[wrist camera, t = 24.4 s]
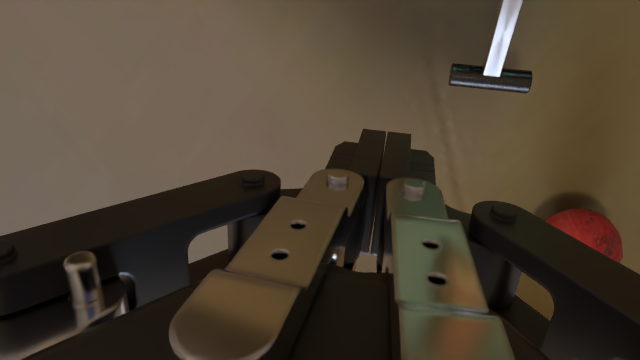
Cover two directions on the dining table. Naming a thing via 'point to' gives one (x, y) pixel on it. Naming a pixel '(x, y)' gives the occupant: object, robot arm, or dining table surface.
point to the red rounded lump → (590, 230)
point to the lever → (495, 58)
